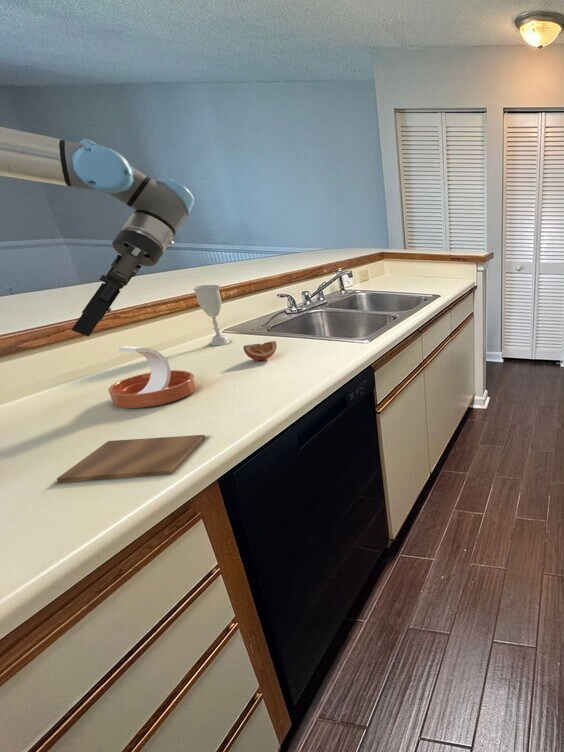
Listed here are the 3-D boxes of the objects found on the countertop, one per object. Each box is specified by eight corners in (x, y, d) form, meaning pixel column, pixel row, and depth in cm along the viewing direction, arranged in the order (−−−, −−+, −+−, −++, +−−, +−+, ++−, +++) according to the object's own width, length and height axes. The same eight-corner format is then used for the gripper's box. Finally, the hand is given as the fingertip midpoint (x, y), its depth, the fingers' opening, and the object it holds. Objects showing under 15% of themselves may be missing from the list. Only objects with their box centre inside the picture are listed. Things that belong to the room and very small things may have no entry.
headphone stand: (135, 397, 95) (117, 347, 91) (161, 387, 101) (145, 339, 96) (152, 400, 95) (135, 348, 90) (177, 389, 100) (162, 341, 96)
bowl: (96, 412, 90) (90, 397, 88) (140, 385, 103) (135, 371, 102) (176, 407, 92) (171, 393, 91) (208, 381, 106) (205, 368, 105)
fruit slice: (275, 353, 127) (272, 338, 125) (282, 359, 123) (279, 343, 121) (244, 359, 122) (240, 343, 120) (250, 365, 117) (246, 348, 116)
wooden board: (58, 482, 67) (56, 478, 67) (109, 444, 78) (108, 440, 78) (171, 473, 70) (170, 469, 69) (205, 438, 81) (204, 434, 80)
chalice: (201, 345, 134) (186, 288, 127) (218, 339, 140) (204, 284, 133) (222, 346, 133) (207, 289, 126) (238, 340, 139) (225, 285, 132)
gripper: (180, 231, 84) (123, 319, 75) (149, 270, 99) (98, 347, 90) (135, 204, 79) (68, 295, 70) (109, 250, 94) (51, 330, 85)
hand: (85, 325), depth 80 cm, fingers open, 13 cm apart
